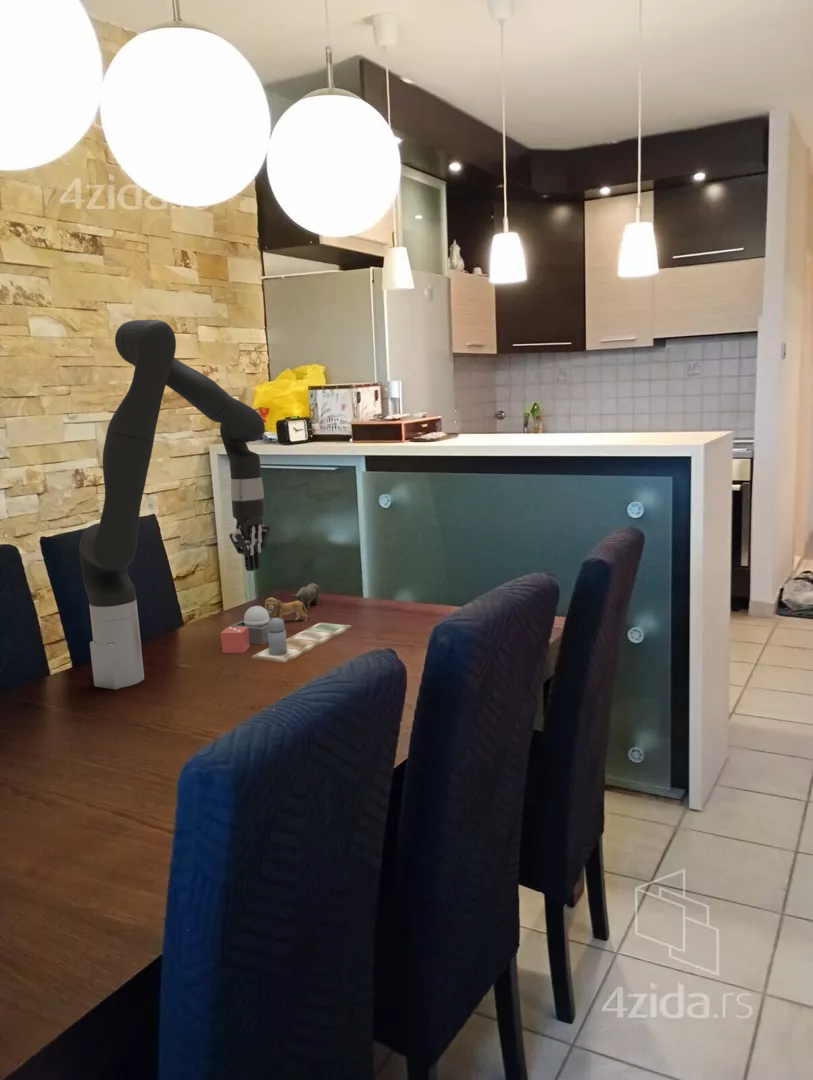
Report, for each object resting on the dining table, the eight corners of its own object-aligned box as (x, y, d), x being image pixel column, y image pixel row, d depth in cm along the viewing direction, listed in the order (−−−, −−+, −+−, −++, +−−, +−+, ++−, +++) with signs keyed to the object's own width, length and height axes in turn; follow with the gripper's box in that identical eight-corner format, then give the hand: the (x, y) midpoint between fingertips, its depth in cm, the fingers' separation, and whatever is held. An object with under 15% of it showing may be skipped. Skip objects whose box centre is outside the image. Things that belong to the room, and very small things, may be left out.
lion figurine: (269, 628, 217) (267, 600, 216) (263, 624, 221) (261, 597, 220) (313, 620, 223) (312, 593, 222) (307, 617, 227) (305, 590, 225)
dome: (260, 634, 205) (258, 610, 203) (240, 632, 207) (238, 608, 206) (275, 628, 210) (273, 604, 209) (254, 626, 212) (253, 602, 211)
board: (285, 663, 188) (285, 659, 188) (251, 659, 192) (251, 655, 192) (351, 628, 214) (351, 625, 214) (320, 625, 218) (319, 622, 218)
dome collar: (262, 645, 203) (261, 629, 202) (231, 642, 207) (229, 625, 206) (285, 634, 211) (283, 619, 210) (254, 631, 215) (252, 616, 214)
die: (243, 654, 197) (242, 631, 196) (222, 654, 197) (220, 631, 196) (250, 647, 202) (248, 625, 201) (229, 647, 202) (227, 625, 201)
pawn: (280, 656, 191) (278, 621, 190) (265, 654, 193) (263, 619, 191) (290, 650, 195) (288, 616, 193) (275, 649, 196) (273, 615, 195)
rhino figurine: (286, 614, 231) (285, 592, 230) (311, 601, 244) (309, 580, 242) (300, 615, 229) (298, 592, 228) (324, 602, 242) (322, 581, 241)
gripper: (243, 501, 195) (248, 576, 198) (277, 493, 207) (282, 564, 210) (216, 500, 198) (222, 574, 201) (251, 493, 211) (257, 563, 214)
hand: (253, 569), depth 206 cm, fingers closed
